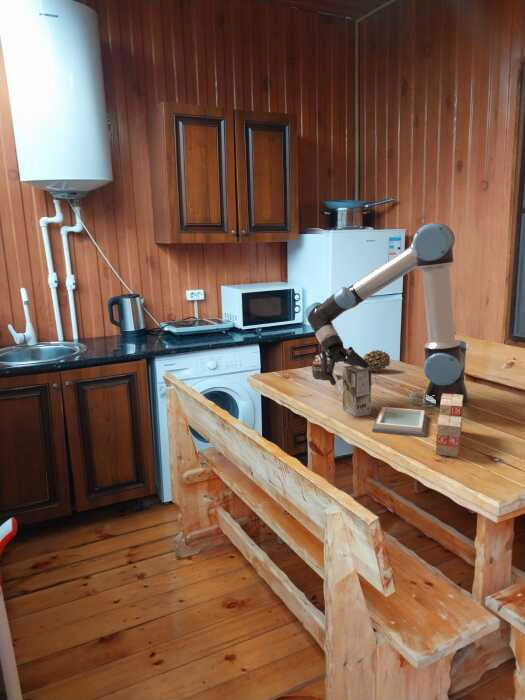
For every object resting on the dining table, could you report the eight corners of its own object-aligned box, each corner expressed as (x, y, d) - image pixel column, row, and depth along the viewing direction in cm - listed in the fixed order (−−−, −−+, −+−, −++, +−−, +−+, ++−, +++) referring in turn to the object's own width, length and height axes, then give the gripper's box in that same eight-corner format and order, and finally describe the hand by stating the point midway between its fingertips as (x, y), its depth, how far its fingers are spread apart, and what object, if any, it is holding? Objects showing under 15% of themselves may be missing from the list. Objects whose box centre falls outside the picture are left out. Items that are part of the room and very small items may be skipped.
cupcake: (308, 375, 235) (308, 353, 233) (328, 373, 238) (328, 352, 236) (315, 381, 226) (315, 358, 224) (336, 379, 229) (336, 356, 226)
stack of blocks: (458, 458, 147) (461, 416, 144) (435, 455, 149) (437, 413, 147) (461, 431, 166) (463, 394, 164) (440, 429, 169) (442, 392, 166)
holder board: (427, 416, 180) (427, 409, 179) (424, 436, 162) (425, 429, 162) (379, 412, 185) (379, 405, 184) (372, 431, 167) (372, 424, 167)
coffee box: (371, 414, 183) (372, 369, 180) (356, 417, 181) (356, 372, 177) (356, 407, 192) (357, 364, 188) (341, 409, 189) (341, 366, 186)
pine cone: (386, 368, 244) (387, 347, 242) (393, 373, 235) (393, 352, 233) (339, 370, 243) (340, 349, 241) (344, 375, 234) (344, 354, 231)
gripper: (351, 341, 203) (377, 388, 193) (297, 350, 190) (322, 400, 181) (360, 330, 197) (387, 377, 188) (306, 338, 185) (332, 389, 175)
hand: (355, 388), depth 184 cm, fingers open, 13 cm apart
